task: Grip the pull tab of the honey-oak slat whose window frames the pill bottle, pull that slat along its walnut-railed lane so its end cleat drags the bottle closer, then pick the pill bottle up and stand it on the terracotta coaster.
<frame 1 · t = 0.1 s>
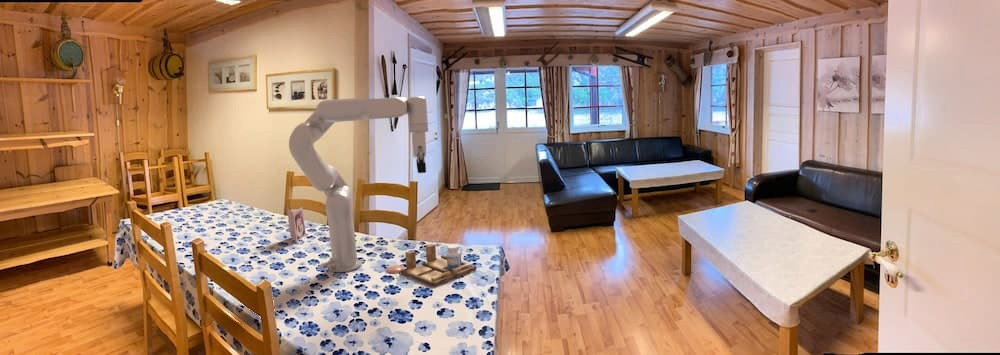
hand: (421, 170, 197), 37 cm above the table, tool pointing down, fingers open, 9 cm apart
pill bottle: (454, 270, 190), resting in slat bottle lane
slat bottle lane: (445, 258, 193), point 4 cm above the table, slide at 0.0 cm
lane rails: (437, 271, 190), on the table
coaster: (395, 269, 193), on the table
slat broken lane: (416, 262, 190), point 4 cm above the table, slide at 0.0 cm
greeting card: (295, 240, 236), on the table
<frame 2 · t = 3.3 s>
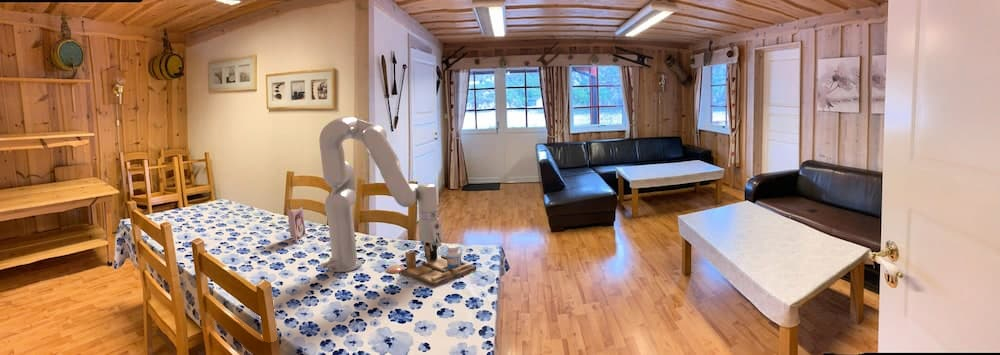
hand: (431, 258, 200), 2 cm above the table, tool pointing down, fingers closed on slat bottle lane, 2 cm apart
slat bottle lane: (445, 258, 193), point 4 cm above the table, slide at 0.0 cm, touching gripper
everything else where it was.
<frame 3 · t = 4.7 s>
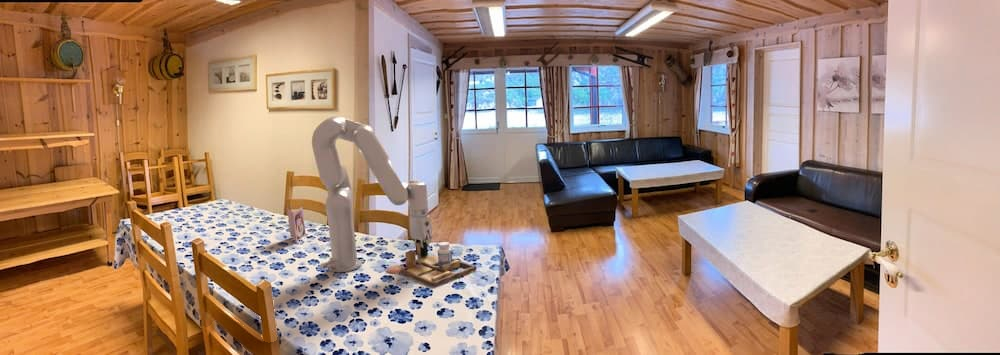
hand: (421, 254, 204), 2 cm above the table, tool pointing down, fingers closed on slat bottle lane, 2 cm apart
pill bottle: (445, 267, 194), resting in slat bottle lane
slat bottle lane: (435, 255, 197), point 4 cm above the table, slide at 6.2 cm, touching gripper, pill bottle
everything else where it was.
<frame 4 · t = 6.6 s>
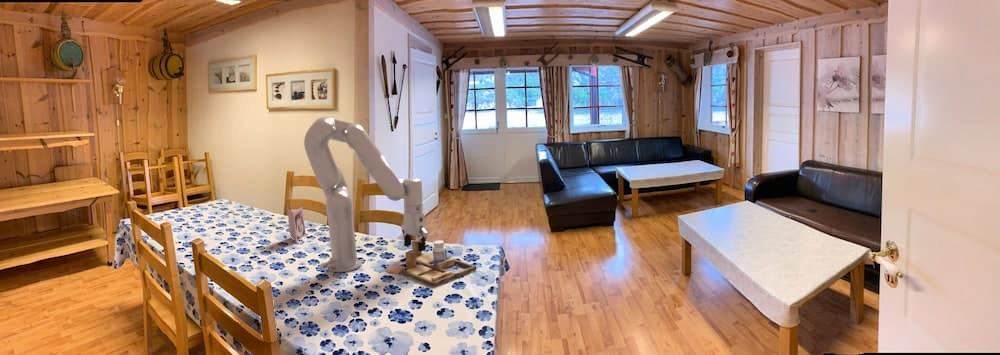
hand: (414, 248, 205), 4 cm above the table, tool pointing down, fingers open, 9 cm apart
pill bottle: (440, 265, 196), resting in slat bottle lane
slat bottle lane: (430, 253, 200), point 4 cm above the table, slide at 9.4 cm
everything else where it was.
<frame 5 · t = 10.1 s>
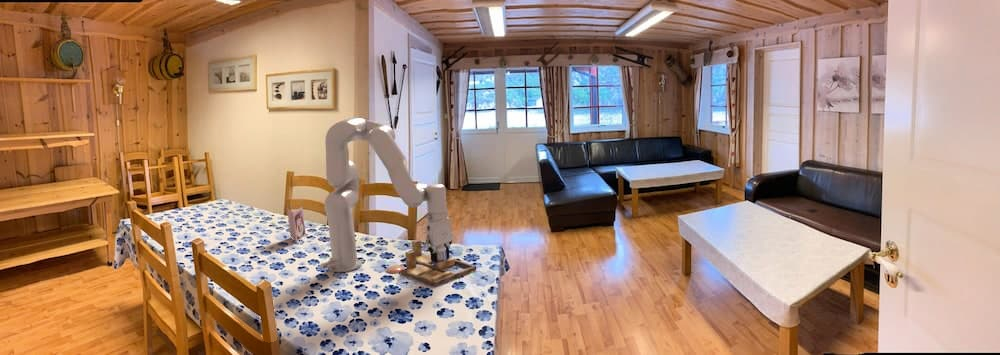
hand: (440, 259, 196), 3 cm above the table, tool pointing down, fingers closed on pill bottle, 5 cm apart
pill bottle: (440, 265, 196), resting in slat bottle lane, touching gripper
everything else where it was.
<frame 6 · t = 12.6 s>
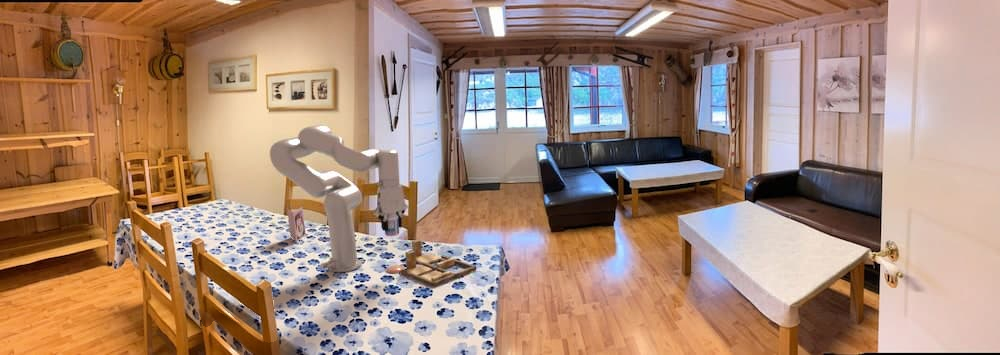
hand: (391, 228, 190), 17 cm above the table, tool pointing down, fingers closed on pill bottle, 5 cm apart
pill bottle: (392, 234, 190), point 14 cm above the table, touching gripper
everything else where it was.
when the fingers open (4 cm above the table, at t = 15.5 s): pill bottle drops 1 cm, resting on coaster.
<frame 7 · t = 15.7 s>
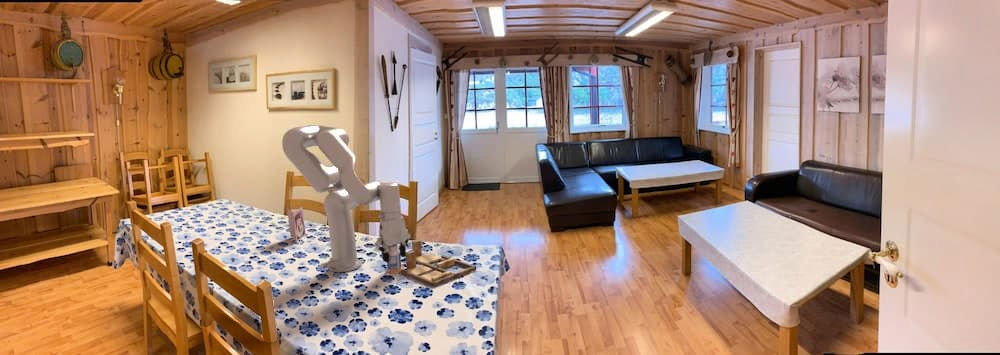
hand: (394, 258, 192), 5 cm above the table, tool pointing down, fingers open, 7 cm apart
pill bottle: (394, 269, 193), resting on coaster
everything else where it was.
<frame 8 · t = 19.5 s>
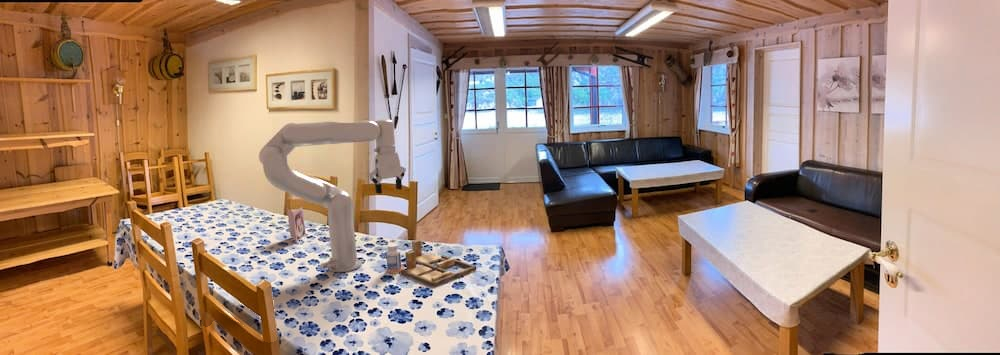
hand: (389, 191, 203), 28 cm above the table, tool pointing down, fingers open, 9 cm apart
nothing on the table moved.
at the end: slat bottle lane slide at 9.4 cm; pill bottle 0.4 cm from the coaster (horizontally); pill bottle tilted 0° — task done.
